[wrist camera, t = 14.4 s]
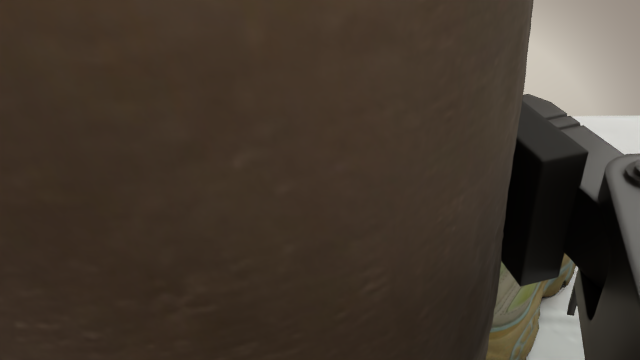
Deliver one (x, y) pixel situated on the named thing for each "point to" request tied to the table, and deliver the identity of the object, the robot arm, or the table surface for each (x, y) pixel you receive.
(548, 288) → the sneaker
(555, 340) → the table surface
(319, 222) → the pillar candle
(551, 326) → the table surface
